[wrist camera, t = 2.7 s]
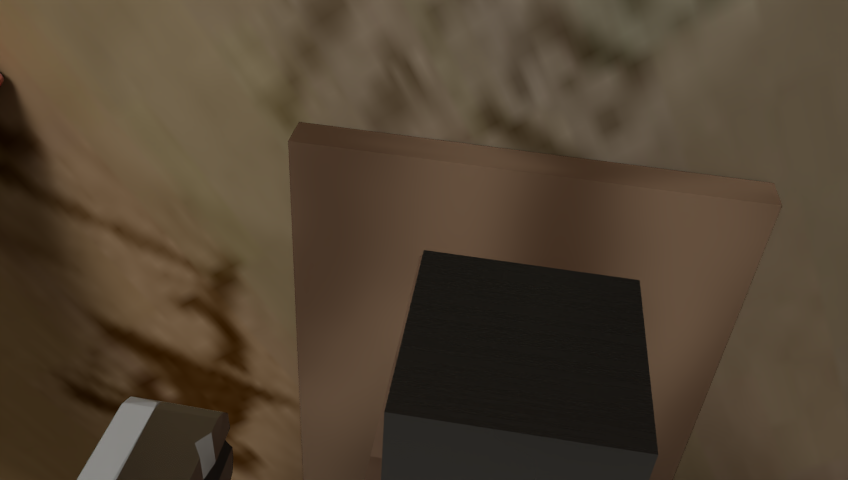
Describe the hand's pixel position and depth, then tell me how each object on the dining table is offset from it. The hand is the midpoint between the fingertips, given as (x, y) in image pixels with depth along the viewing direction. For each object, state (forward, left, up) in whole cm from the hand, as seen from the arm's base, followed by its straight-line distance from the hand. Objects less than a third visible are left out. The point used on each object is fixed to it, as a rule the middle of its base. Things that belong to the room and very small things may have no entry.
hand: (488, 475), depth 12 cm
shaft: (0, +9, -3) cm, 10 cm away
